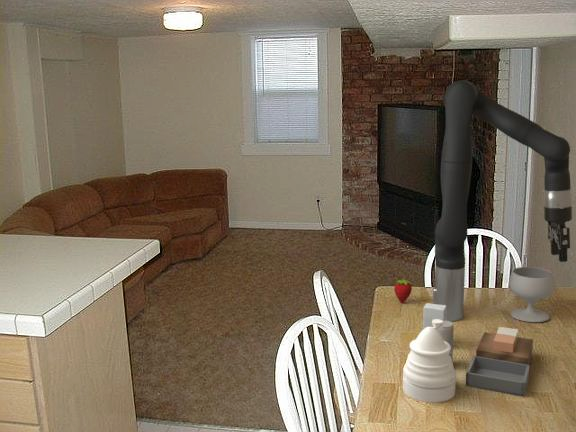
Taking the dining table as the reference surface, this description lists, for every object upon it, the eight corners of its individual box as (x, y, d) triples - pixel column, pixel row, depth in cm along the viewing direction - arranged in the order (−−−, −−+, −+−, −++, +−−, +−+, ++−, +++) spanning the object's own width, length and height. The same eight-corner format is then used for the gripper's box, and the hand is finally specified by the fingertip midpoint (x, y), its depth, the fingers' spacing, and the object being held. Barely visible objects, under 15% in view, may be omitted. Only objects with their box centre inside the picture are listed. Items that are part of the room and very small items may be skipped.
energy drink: (429, 361, 171) (430, 320, 169) (448, 360, 172) (449, 319, 169) (435, 369, 166) (436, 327, 164) (455, 368, 167) (456, 326, 164)
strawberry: (412, 300, 218) (413, 273, 216) (410, 307, 211) (410, 279, 209) (395, 299, 220) (396, 272, 218) (392, 306, 213) (392, 278, 211)
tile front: (493, 349, 166) (493, 340, 166) (495, 342, 170) (496, 333, 170) (512, 352, 164) (513, 343, 163) (515, 345, 168) (515, 336, 168)
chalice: (498, 316, 202) (500, 272, 199) (521, 305, 211) (523, 263, 208) (539, 328, 192) (542, 281, 189) (561, 316, 201) (564, 272, 197)
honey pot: (437, 374, 164) (439, 309, 160) (465, 396, 152) (468, 327, 148) (393, 382, 160) (394, 316, 156) (419, 406, 148) (421, 336, 144)
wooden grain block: (475, 367, 167) (476, 350, 166) (483, 348, 178) (484, 332, 177) (527, 376, 161) (528, 358, 160) (532, 356, 173) (533, 339, 172)
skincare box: (446, 343, 182) (447, 305, 180) (443, 349, 179) (444, 310, 176) (425, 340, 185) (426, 302, 182) (422, 346, 181) (423, 307, 179)
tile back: (496, 341, 171) (496, 333, 170) (498, 335, 175) (499, 326, 175) (515, 344, 169) (515, 336, 168) (517, 337, 173) (518, 329, 173)
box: (465, 385, 157) (466, 373, 157) (473, 367, 167) (473, 355, 166) (524, 396, 151) (525, 383, 150) (528, 377, 161) (529, 364, 160)
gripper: (538, 202, 191) (539, 253, 194) (551, 209, 177) (552, 264, 180) (564, 200, 190) (565, 252, 192) (578, 207, 176) (579, 263, 179)
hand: (559, 258), depth 186 cm, fingers open, 8 cm apart
